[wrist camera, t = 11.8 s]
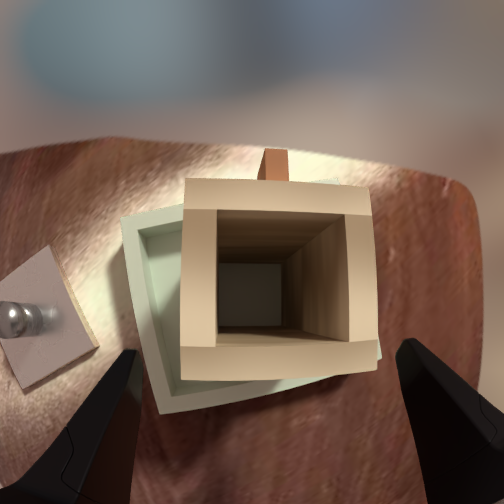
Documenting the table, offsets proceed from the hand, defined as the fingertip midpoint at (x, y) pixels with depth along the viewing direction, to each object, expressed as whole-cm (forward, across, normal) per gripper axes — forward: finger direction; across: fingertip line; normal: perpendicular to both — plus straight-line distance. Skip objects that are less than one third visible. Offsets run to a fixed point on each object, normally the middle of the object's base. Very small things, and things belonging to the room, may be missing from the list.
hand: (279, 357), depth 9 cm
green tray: (+10, 0, +6) cm, 11 cm away
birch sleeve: (+9, 0, +5) cm, 10 cm away
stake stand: (+8, +16, +8) cm, 19 cm away
